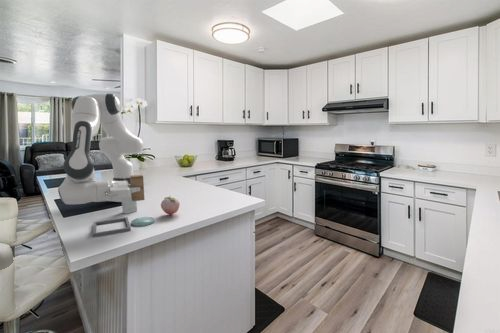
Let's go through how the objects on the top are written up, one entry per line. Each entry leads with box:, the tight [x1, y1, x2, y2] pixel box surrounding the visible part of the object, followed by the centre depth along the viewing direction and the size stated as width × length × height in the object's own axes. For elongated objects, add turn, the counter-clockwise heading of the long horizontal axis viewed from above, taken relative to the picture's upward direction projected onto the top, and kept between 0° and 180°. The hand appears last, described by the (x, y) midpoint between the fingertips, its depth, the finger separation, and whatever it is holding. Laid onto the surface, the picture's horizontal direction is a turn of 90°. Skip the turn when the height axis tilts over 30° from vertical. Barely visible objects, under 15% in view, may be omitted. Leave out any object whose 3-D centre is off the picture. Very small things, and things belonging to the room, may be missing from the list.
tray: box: [92, 216, 132, 238], centre depth 116 cm, size 16×14×1 cm
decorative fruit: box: [160, 196, 181, 216], centre depth 133 cm, size 9×8×10 cm
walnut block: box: [130, 174, 145, 202], centre depth 120 cm, size 5×5×11 cm
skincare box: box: [121, 193, 138, 214], centre depth 138 cm, size 6×4×12 cm
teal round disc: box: [130, 216, 156, 227], centre depth 123 cm, size 10×10×1 cm
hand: (139, 187), depth 120 cm, fingers closed on walnut block, 5 cm apart
